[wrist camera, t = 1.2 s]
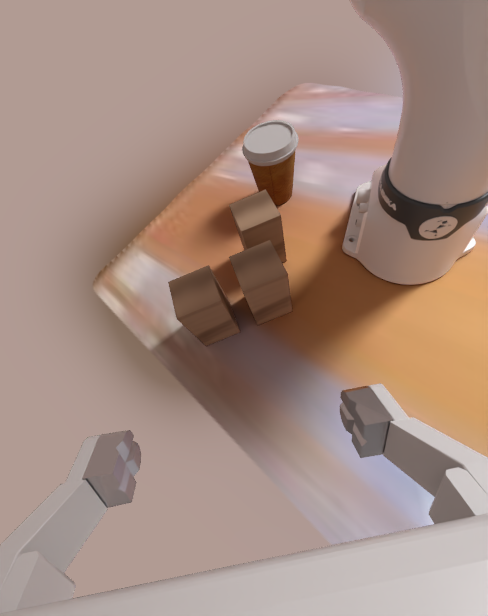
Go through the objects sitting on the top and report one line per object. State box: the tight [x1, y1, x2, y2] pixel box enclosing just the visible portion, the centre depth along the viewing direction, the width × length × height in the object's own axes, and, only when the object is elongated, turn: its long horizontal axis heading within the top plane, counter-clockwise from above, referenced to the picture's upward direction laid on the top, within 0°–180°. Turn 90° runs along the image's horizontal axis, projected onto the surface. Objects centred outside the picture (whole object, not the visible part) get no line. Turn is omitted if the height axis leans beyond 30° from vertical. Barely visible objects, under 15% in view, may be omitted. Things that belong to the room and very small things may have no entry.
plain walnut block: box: [168, 265, 240, 346], centre depth 40 cm, size 6×6×11 cm
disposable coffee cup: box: [242, 120, 298, 206], centre depth 50 cm, size 10×10×12 cm
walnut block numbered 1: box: [229, 240, 292, 325], centre depth 40 cm, size 6×6×11 cm
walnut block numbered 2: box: [229, 189, 287, 263], centre depth 44 cm, size 6×6×11 cm
